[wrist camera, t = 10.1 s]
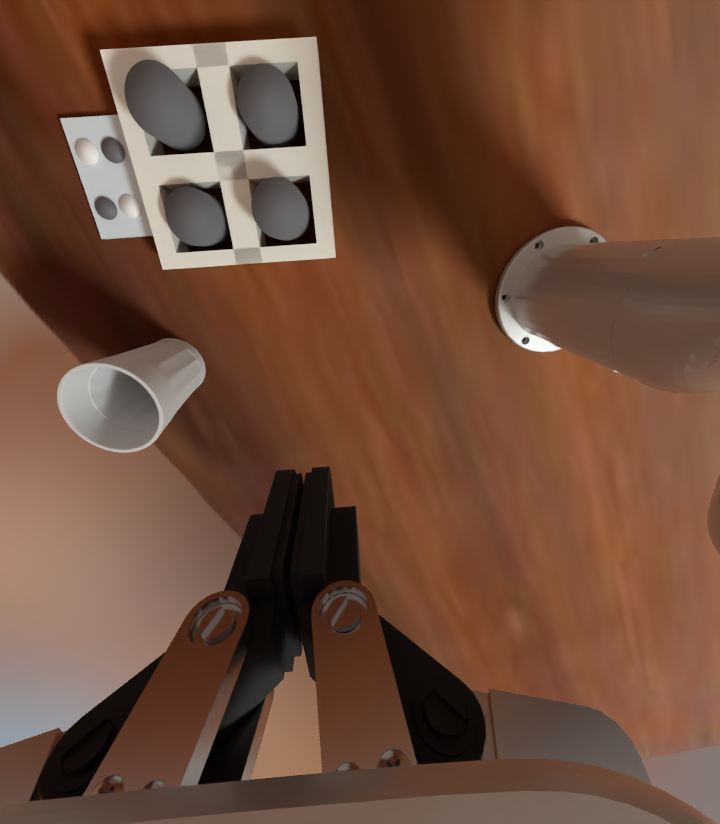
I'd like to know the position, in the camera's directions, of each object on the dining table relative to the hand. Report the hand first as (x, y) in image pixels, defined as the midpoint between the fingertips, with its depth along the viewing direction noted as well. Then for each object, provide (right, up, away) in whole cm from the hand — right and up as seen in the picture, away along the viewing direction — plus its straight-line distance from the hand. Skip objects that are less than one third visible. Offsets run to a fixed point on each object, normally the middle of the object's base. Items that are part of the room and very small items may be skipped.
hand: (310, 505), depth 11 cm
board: (-9, +25, +20) cm, 33 cm away
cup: (-19, +8, +27) cm, 35 cm away
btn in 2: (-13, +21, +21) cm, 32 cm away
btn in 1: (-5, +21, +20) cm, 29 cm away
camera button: (-6, +28, +18) cm, 34 cm away
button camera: (-13, +27, +17) cm, 34 cm away
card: (-21, +24, +20) cm, 37 cm away
